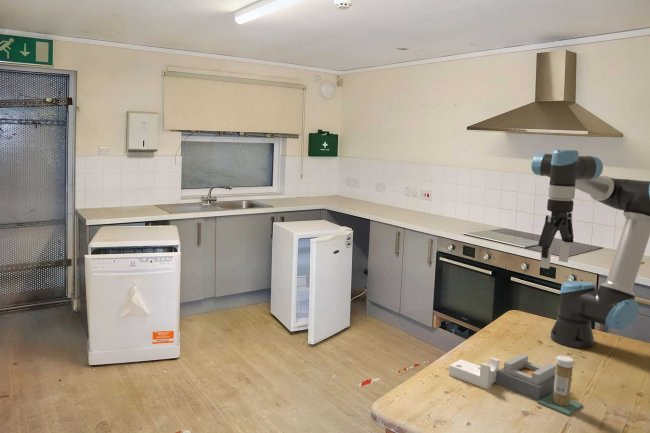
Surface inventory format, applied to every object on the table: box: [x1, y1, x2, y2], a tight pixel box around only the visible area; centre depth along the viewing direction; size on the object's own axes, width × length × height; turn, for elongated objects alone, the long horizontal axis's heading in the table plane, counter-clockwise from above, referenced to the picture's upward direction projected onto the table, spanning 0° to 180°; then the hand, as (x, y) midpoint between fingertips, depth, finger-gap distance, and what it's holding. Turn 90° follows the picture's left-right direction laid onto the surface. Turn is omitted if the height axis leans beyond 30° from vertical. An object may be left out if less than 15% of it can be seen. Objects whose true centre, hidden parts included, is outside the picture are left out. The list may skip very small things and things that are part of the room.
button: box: [521, 370, 534, 375], centre depth 167 cm, size 5×5×3 cm
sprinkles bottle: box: [552, 355, 575, 406], centre depth 155 cm, size 5×5×13 cm
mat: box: [537, 392, 584, 417], centre depth 156 cm, size 9×9×1 cm
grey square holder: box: [494, 353, 556, 402], centre depth 167 cm, size 14×14×7 cm
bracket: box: [448, 357, 500, 390], centre depth 170 cm, size 13×7×8 cm, turn 47°
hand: (554, 264), depth 174 cm, fingers open, 13 cm apart
